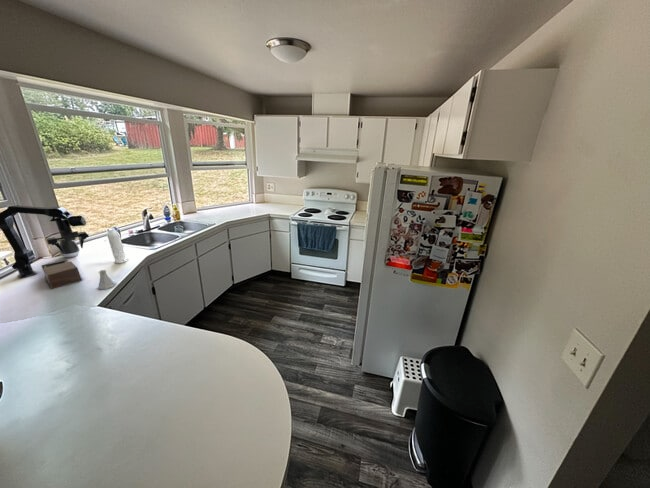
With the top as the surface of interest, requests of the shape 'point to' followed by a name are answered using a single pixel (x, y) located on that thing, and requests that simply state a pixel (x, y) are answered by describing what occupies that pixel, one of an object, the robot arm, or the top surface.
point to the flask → (105, 280)
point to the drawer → (54, 263)
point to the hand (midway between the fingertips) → (72, 250)
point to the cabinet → (61, 274)
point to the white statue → (116, 246)
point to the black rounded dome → (69, 248)
